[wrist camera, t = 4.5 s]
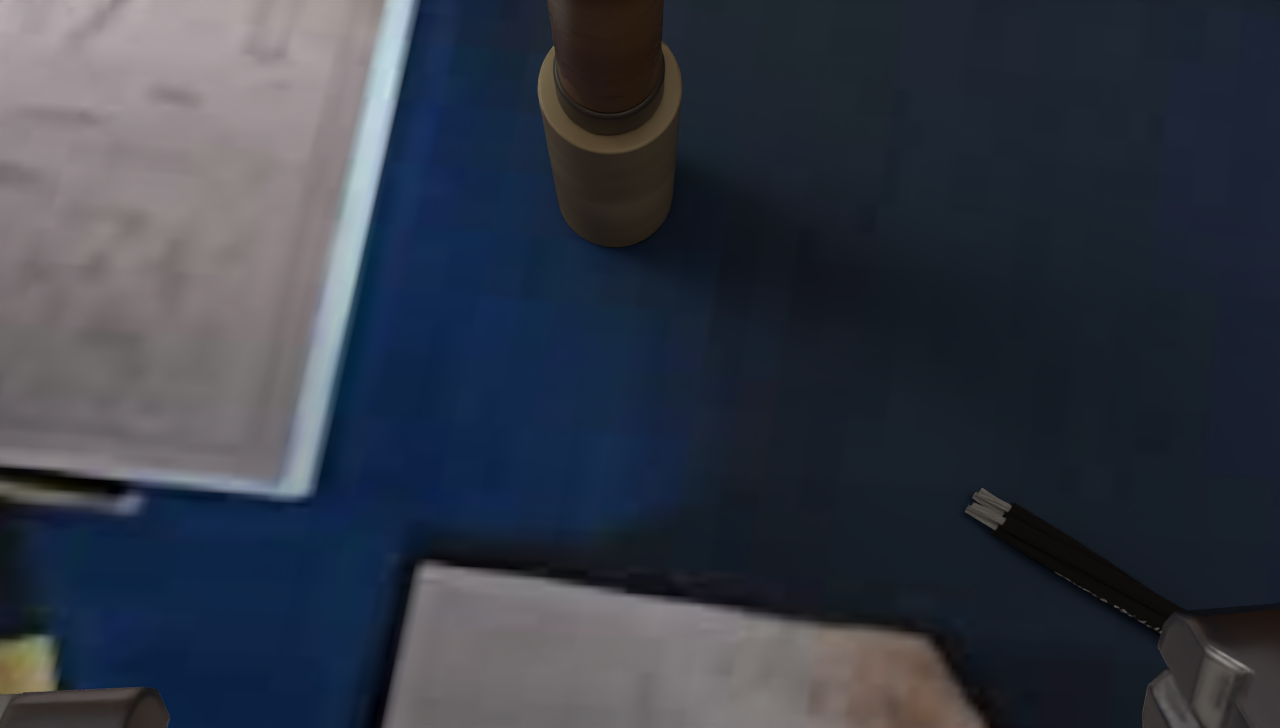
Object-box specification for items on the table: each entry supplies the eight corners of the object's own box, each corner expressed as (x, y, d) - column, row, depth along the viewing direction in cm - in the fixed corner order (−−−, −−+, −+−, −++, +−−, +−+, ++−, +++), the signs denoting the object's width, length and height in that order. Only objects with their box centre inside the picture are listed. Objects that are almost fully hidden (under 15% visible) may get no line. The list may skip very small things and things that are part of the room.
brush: (538, 220, 33) (443, -168, 17) (586, 121, 34) (538, -350, 17) (644, 266, 33) (654, -83, 17) (690, 164, 34) (745, -270, 17)
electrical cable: (959, 518, 32) (969, 515, 31) (977, 485, 32) (988, 481, 31) (1381, 778, 30) (1406, 784, 30) (1398, 743, 31) (1423, 747, 30)
